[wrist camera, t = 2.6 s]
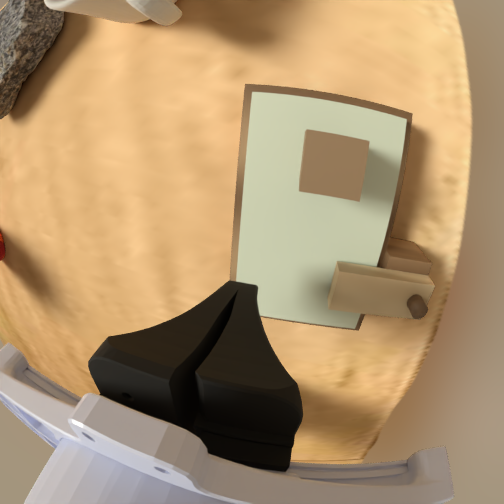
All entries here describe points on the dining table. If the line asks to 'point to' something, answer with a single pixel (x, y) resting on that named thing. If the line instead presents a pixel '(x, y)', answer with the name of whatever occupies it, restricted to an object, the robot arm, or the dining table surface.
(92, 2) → the cup
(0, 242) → the paper cup
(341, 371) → the dining table surface
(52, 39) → the rock
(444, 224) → the dining table surface
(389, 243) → the wooden tray
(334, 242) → the lid
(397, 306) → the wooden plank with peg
